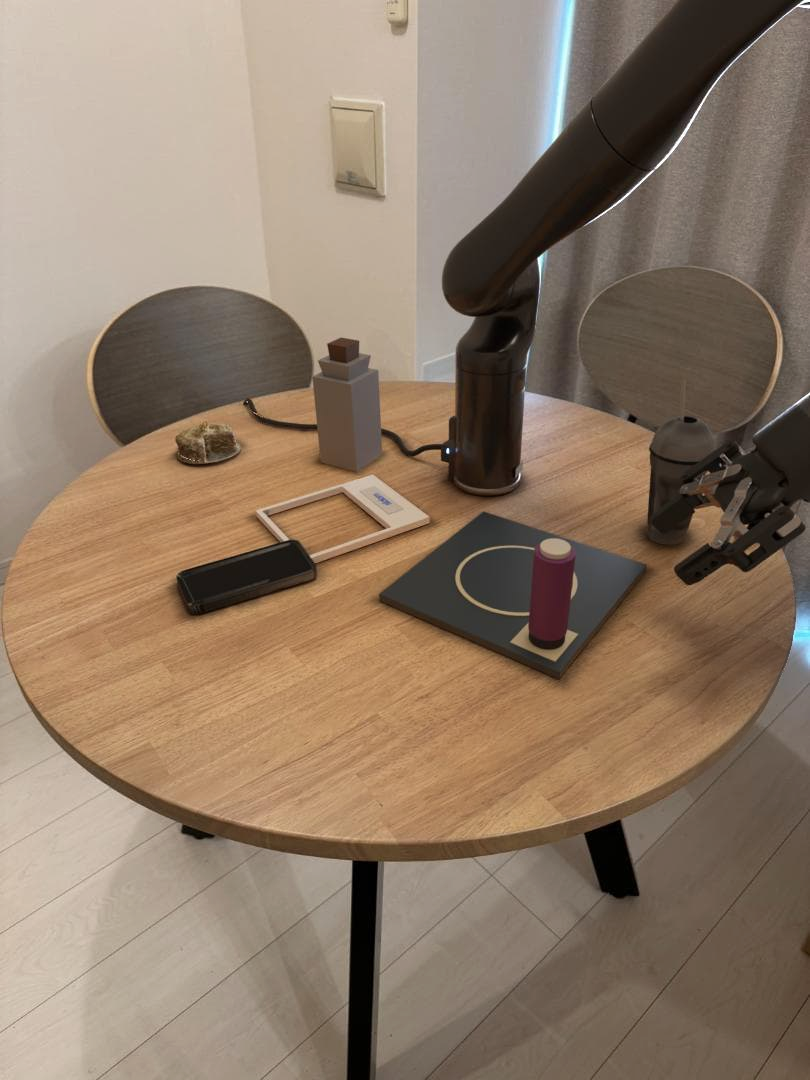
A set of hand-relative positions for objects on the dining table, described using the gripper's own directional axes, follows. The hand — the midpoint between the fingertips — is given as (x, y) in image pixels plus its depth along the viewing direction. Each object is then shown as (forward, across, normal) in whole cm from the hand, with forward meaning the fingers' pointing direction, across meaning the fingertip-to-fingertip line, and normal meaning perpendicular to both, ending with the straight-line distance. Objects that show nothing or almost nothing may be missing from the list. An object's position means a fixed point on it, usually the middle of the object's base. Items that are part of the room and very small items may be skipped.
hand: (667, 551), depth 68 cm
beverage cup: (+3, -21, +13) cm, 25 cm away
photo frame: (+32, -25, -16) cm, 44 cm away
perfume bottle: (+32, -44, -16) cm, 57 cm away
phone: (+39, -12, -22) cm, 46 cm away
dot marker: (+15, 0, 0) cm, 15 cm away
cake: (+48, -46, -32) cm, 74 cm away
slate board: (+17, -10, -1) cm, 20 cm away
